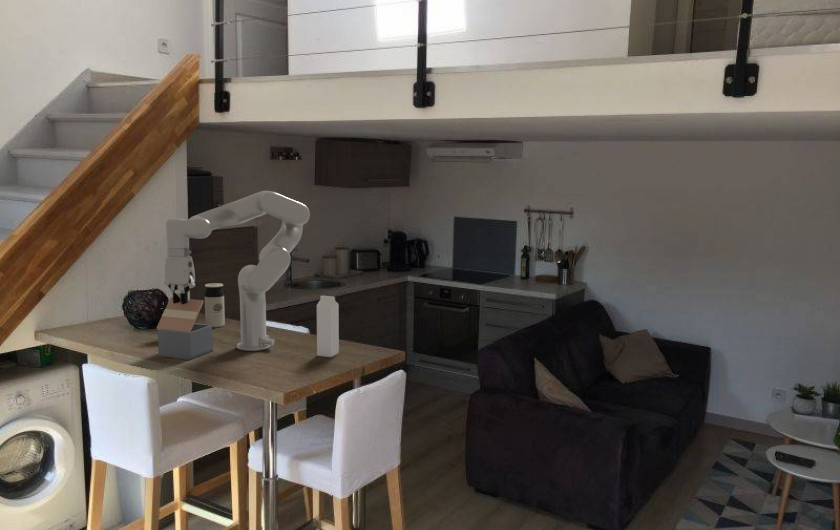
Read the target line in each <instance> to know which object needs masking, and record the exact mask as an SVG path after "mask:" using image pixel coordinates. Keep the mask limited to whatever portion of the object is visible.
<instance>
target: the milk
mask: <svg viewBox="0 0 840 530" xmlns="http://www.w3.org/2000/svg"><path fill="white" fill-rule="evenodd" d="M339 307H340V305H339V303H338V302H337V301H336V297H335V296H334V295H333V296H331V295H330V296H329V295H320V300H319V301H318V303H317V304H316V356H318V357H327V358H333V357H335V356H336V355H338V354H339V353H340V350H339V349H340V346H339V345H340V340H339V338H340V337H339V336H340V334H339V333H340V332H339V323H340V321H339V320H340V318H339V317H340V316H339V311H340V310H339Z"/></svg>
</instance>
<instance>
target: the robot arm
mask: <svg viewBox="0 0 840 530" xmlns="http://www.w3.org/2000/svg"><path fill="white" fill-rule="evenodd" d="M264 215H270V216H271V217H274V218H276V219H279V220H281V226H280V229H279V230H278V232H277V233H276V234H275V236H274V237H273V238H272V239H271V240H270V241H269V242H268V243H267V244H266V245H265V246H264V247H263V248H262V249H261V251H260V253H259V255H258V259H259V262H258V263H257V265H255V264H248V265H245V266H244V267H242V268H241V269H240V271H239V273H238V276H237V284H238V292H239V311H240V312H239V313H240V316H239V317H240V342H238V343H237V344H236V349H238V350H240V351H245V352H257V351H264V350H267V349H269V348H270V347H271V346H274V345H275V342H276V339H275V338H270V335H269V334H267V311H266V309H267V300H266V299H267V298H266V292H268V291H269V290H270V289H271V288H272V287H273V286H274V285H275V283H276V282H278V280H279V279H280V278H281V277H282V276H283V274H285V272H286V271H287V270H288V268H289V267H290V265H291V254H290V253H292V251H293V249H295V248H296V246H297V245H298V244H299V243H300V240H301V238H302V235H303V230H304V229H303V228H304V225H305V224H307V223H308V221H309V220H310V217H311V211H310V209H309V208H308V206H307V205H306V204H303V203H302V202H299V201H296V200H294V199H292V198H290V197H286V196H285V195H282V194H280V193H278V192H276V191H272V190H271V191H270V190H262V191H258V192H256V193H252V194H250V195H248V196H246V197H243V198H240V199H237V200H235V201H234V200H233V201H232V202H231V201H230V202H229V203H225V204H223V205H220V206H218V207H217V206H216V207H215V208H212V209H209V210H206V211H204V212H201V213H197V214H196V215H193V216H190V218H188V219H187V218H182V217H172V218H169V219H167V220H166V221H165V222H166V223H165V227H166V228H165V229H166V231H165V233H166V251H167V252H166V253H167V256H165V265H164V283H163V284H164V285H165V286H166V287H168V288H169V290H170V293H172V298H173V303H174V304H175V303H179V302H180V299H181V304H186V303H188V298H189V295H188V293H189V292H190V290H191V289H192V288H194V287H196V283H195V282H196V273H195V272H196V271H195V266H194V260H193V257H192V256H191V254H192V250H190V239H201V240H202V239H206V238H208V237H209V236H210V235H211V234H212V232H213V230H214V231H215V230H216V229H220V228H223V227H229V226H237V225H238V226H239V225H241V224H243V223H246V222H249V221H252V220H253V219H256V218H259V217H263V216H264ZM179 285H180V288H181V291H182V293H181V294H180V297H179V296H178V295H177V294H176V293H175V290H179Z"/></svg>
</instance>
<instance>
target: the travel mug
mask: <svg viewBox="0 0 840 530" xmlns="http://www.w3.org/2000/svg"><path fill="white" fill-rule="evenodd" d="M204 286H205V290H204V316H205V320H204V322H205V325H212V328H221V327H223V326H225V325H226V322H225V320H226V319H225V318H226V317H225V316H226V315H225V292H224V290H223V286H224V284H223V283H218V282H217V283H216V282H215V283H206V284H205V285H204Z"/></svg>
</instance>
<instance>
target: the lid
mask: <svg viewBox="0 0 840 530" xmlns="http://www.w3.org/2000/svg"><path fill="white" fill-rule="evenodd" d="M175 293H176V294H177V295H178V296H179V297H180V294H181V293H182V291H181V290H175ZM204 303H205V300H204V299H193V298H190V297H188V303H186V304H181V299H180V302H179V303H175V304H174V303H173V296H172V297H170V298H169V301H168V303H167V305H166V307H165V308H164V310H163V313H162V314H161V318H160V320H159V322H158V324H157V326H156V329H157V330H158V329H160V330H169V331H179V332H189V333H190V332H191V329H192V327H193V325H194V323H195V322H196V320H197V318H198V316H199V314H200V311H201V309H202V307H203V305H204ZM195 324H196V323H195Z"/></svg>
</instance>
